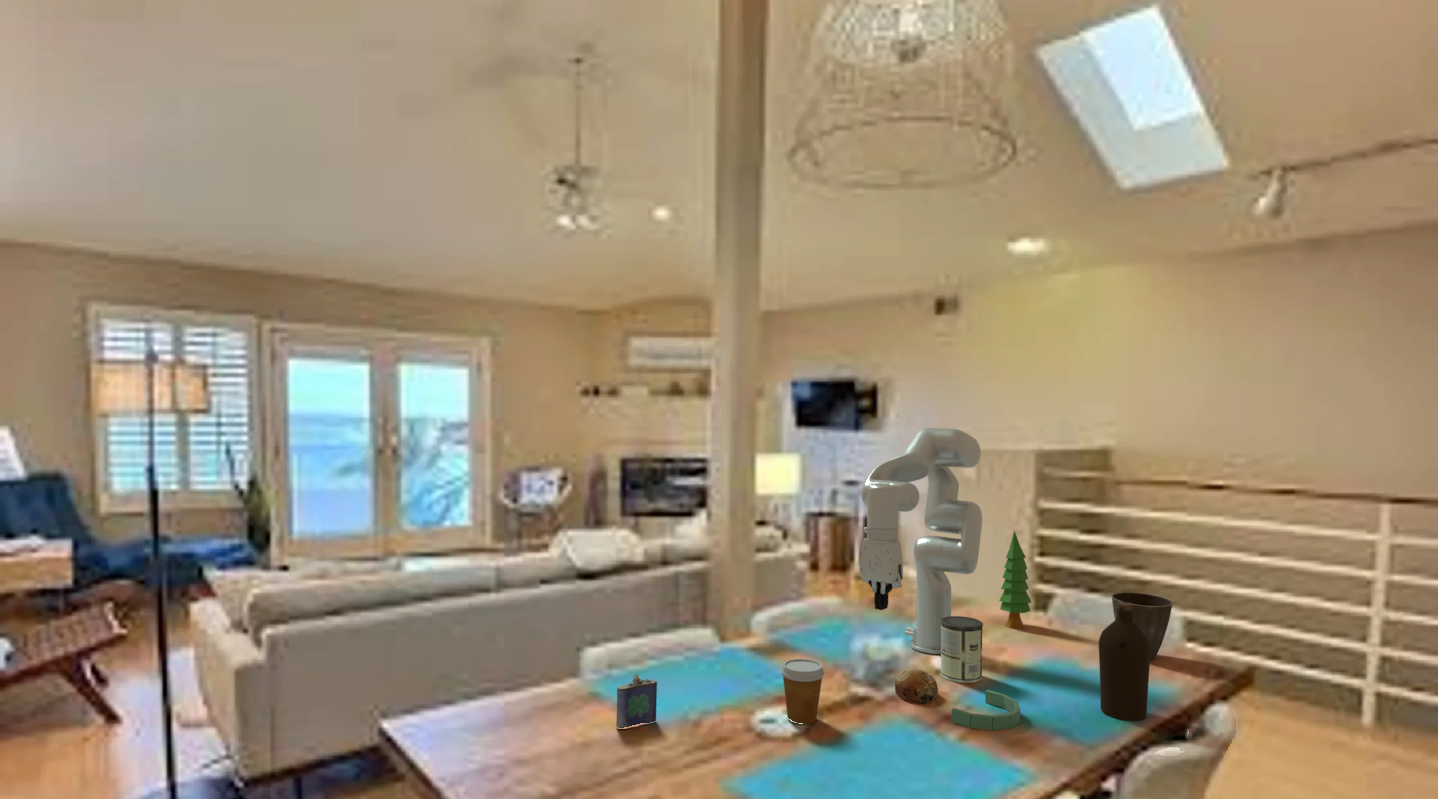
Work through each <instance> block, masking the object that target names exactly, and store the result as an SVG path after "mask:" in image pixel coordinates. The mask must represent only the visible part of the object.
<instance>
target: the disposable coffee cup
mask: <svg viewBox="0 0 1438 799" xmlns="http://www.w3.org/2000/svg"><path fill="white" fill-rule="evenodd" d="M780 672H781V675H782V678H783V687H784V697H785V706H786V715H787V719H788V718H789V719H791V720H792V721H794V722H797V723H803V724H807V725H812V724H814V723H815V722H817V715H818V711H819V703H820V696H821V695H820V694H821V687H822V681H823V680H822V679H823V677H824V675H825V670H824V667H823V664H822V663H821V662H818V661H817V660H814V659H808V658H794V659H793V658H792V659H788V660H786V661H784V662H783V663H782V667H781V668H780Z"/></svg>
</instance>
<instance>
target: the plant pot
mask: <svg viewBox="0 0 1438 799" xmlns="http://www.w3.org/2000/svg"><path fill="white" fill-rule="evenodd" d="M1111 602H1112V609H1113V615H1114V621H1115V620H1116V618H1117V608H1118V606H1117V603H1118V602H1129V603H1132V604H1133V607H1132V610H1133V621H1134V622H1135V624H1136V625H1137V626H1138V627H1139V628H1140V629H1141V630H1142V631H1143V632H1144V634H1145V635H1146V636H1147V638H1148V640H1149V643H1150V647H1151V656H1150V661H1154V660H1155V659H1156V657H1157V655H1158V653H1159V651H1160V649H1161V646H1162V644H1163V641H1164V638H1165V635H1166V633H1167V629H1168V626H1169V622H1170V618H1171V614H1172V608H1173V602H1172V600H1170V599H1168V598H1165V597H1164V596H1163V597H1162V596H1158V595H1155V594H1147V593H1140V592H1124V591H1123V592H1116V593H1113V594H1111Z"/></svg>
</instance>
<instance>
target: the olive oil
mask: <svg viewBox="0 0 1438 799" xmlns="http://www.w3.org/2000/svg"><path fill="white" fill-rule="evenodd" d="M1117 606H1118V608H1117V618H1116V620H1115V619H1114V620H1113V622H1111V623H1110V624H1109V625H1108V626H1106V627H1105V628H1104V629H1103V630H1102V631H1101V633H1100V636H1099V638H1098V659H1099V688H1100V689H1099V690H1100V691H1099V694H1100V698H1099V700H1100V710H1101V712H1102V713H1103V714H1104V715H1107V716H1109V717H1111V718H1114V719H1117V720H1123V721H1129V722H1130V721H1131V722H1132V721H1133V722H1134V721H1136V722H1137V721H1143V720H1145V719H1146V718H1147V715H1148V695H1149V692H1148V691H1149V683H1150V682H1149V681H1150V680H1149V679H1150V666H1151V660H1150V656H1151V647H1150V643H1149V640H1148V638H1147V636H1146V635H1145V634H1144V632H1143V631H1142V630H1141V629H1140V628H1139V627H1138V626H1137V625H1136V624H1135V622H1134V621H1133V610H1132V607H1133V604H1132V603H1129V602H1118V603H1117Z"/></svg>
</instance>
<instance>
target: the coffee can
mask: <svg viewBox="0 0 1438 799" xmlns="http://www.w3.org/2000/svg"><path fill="white" fill-rule="evenodd" d="M983 626H984V623H983V621H981V620H979V619H977V618H974V617H971V616H970V617H969V616H960V615H959V616H958V615H955V616H954V615H953V616H952V615H951V616H950V617H945V618H942V619H941V654H940V676H941V677H942V678H943V679H945V680H946V681H947V680H948V681H950V682H954V683H960V684H961V683H962V684H975V683H979V682H981V681H982V679H983Z"/></svg>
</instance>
